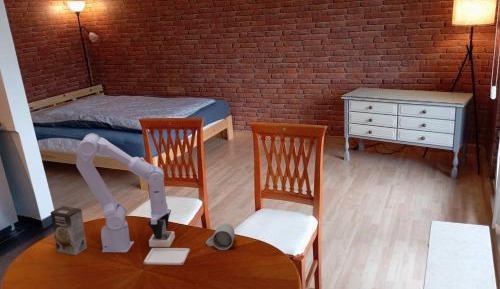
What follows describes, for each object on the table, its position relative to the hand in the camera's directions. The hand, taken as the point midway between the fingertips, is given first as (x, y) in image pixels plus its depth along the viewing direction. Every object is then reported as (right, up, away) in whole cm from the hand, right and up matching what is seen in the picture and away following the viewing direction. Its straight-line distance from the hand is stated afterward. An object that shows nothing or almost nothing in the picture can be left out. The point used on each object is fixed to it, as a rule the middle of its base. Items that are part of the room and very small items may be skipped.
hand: (161, 233), depth 168 cm
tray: (+4, -7, -10) cm, 13 cm away
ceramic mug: (+23, -4, -2) cm, 23 cm away
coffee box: (-33, -6, -1) cm, 34 cm away
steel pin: (0, -3, +1) cm, 3 cm away
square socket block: (0, -4, +1) cm, 4 cm away
